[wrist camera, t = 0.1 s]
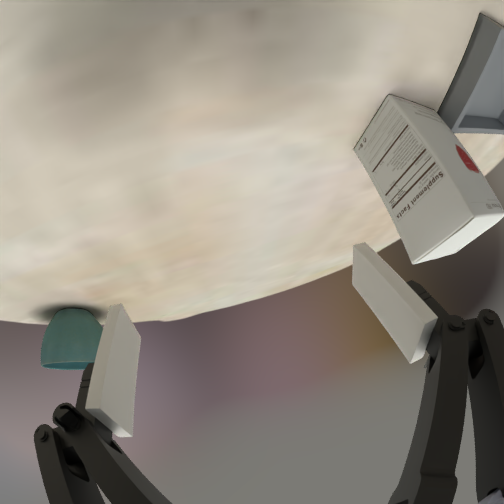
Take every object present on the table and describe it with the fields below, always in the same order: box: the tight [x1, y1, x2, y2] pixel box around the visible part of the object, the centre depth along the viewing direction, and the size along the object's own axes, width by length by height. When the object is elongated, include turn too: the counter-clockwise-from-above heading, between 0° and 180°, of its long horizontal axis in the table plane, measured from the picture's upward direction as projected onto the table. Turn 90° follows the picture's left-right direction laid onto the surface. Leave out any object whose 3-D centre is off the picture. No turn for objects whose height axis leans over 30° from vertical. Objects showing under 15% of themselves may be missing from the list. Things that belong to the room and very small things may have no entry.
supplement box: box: [354, 95, 504, 264], centre depth 25 cm, size 9×9×15 cm
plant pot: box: [41, 308, 103, 370], centre depth 52 cm, size 18×18×12 cm
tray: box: [437, 13, 504, 134], centre depth 19 cm, size 16×16×3 cm
